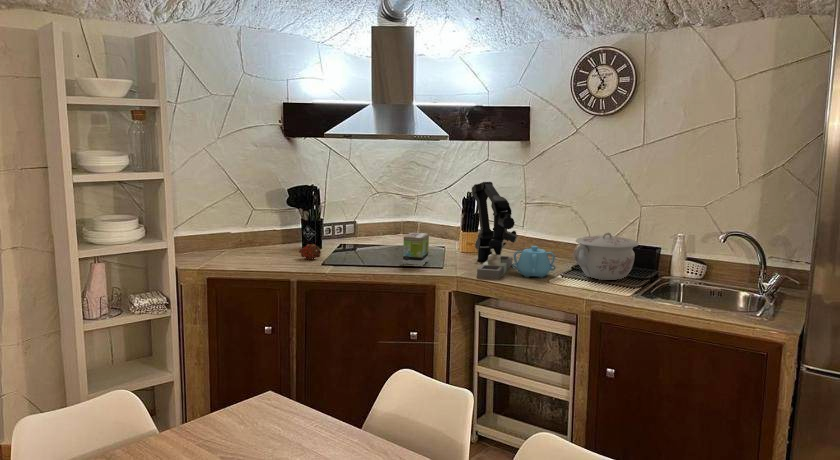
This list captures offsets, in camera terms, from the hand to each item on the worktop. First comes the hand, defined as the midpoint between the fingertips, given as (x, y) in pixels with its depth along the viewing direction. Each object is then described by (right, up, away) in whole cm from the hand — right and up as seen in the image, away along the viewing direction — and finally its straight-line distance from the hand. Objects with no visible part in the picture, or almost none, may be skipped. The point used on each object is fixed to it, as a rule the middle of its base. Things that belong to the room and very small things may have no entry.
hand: (498, 257), depth 320 cm
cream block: (-3, -2, -10) cm, 11 cm away
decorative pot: (+14, -8, -15) cm, 22 cm away
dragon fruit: (-93, -2, +16) cm, 95 cm away
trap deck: (-2, -6, -7) cm, 9 cm away
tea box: (-40, -4, +7) cm, 41 cm away
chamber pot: (+46, -8, -19) cm, 50 cm away
